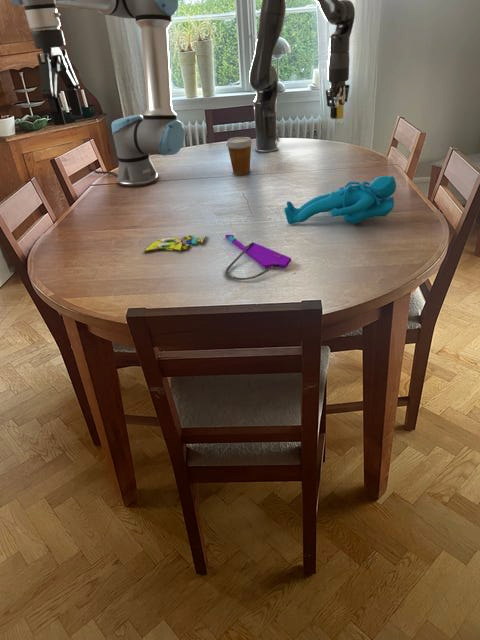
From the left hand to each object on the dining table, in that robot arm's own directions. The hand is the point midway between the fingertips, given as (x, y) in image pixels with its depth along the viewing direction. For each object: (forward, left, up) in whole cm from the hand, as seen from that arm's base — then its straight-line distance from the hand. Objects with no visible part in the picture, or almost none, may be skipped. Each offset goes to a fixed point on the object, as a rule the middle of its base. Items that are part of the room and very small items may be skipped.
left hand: (69, 119), depth 132 cm
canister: (-13, +98, -16) cm, 101 cm away
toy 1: (+30, +16, -31) cm, 45 cm away
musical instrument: (+49, +27, -31) cm, 64 cm away
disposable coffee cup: (-20, +60, -31) cm, 70 cm away
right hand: (-13, +98, -15) cm, 100 cm away
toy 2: (+42, +60, -31) cm, 79 cm away
